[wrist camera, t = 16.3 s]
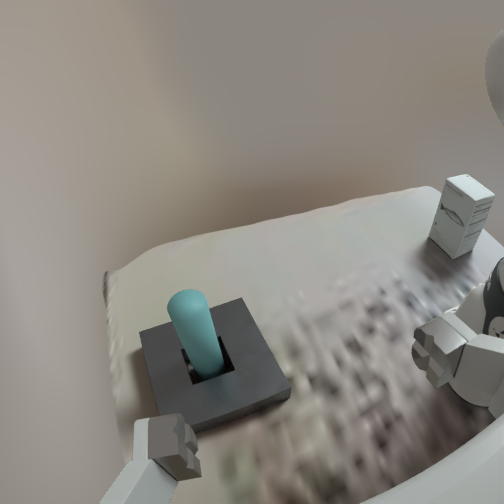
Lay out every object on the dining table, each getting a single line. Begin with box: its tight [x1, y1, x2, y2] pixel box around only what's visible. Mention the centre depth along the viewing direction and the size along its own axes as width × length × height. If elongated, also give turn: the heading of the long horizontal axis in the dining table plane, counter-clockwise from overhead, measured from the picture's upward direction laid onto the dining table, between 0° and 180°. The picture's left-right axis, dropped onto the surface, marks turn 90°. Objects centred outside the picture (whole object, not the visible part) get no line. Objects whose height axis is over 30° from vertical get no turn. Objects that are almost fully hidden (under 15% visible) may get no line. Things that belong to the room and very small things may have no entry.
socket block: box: [139, 297, 291, 434], centre depth 34 cm, size 14×14×3 cm
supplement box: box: [429, 174, 495, 259], centre depth 45 cm, size 7×7×13 cm
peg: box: [167, 290, 226, 382], centre depth 31 cm, size 4×4×13 cm
